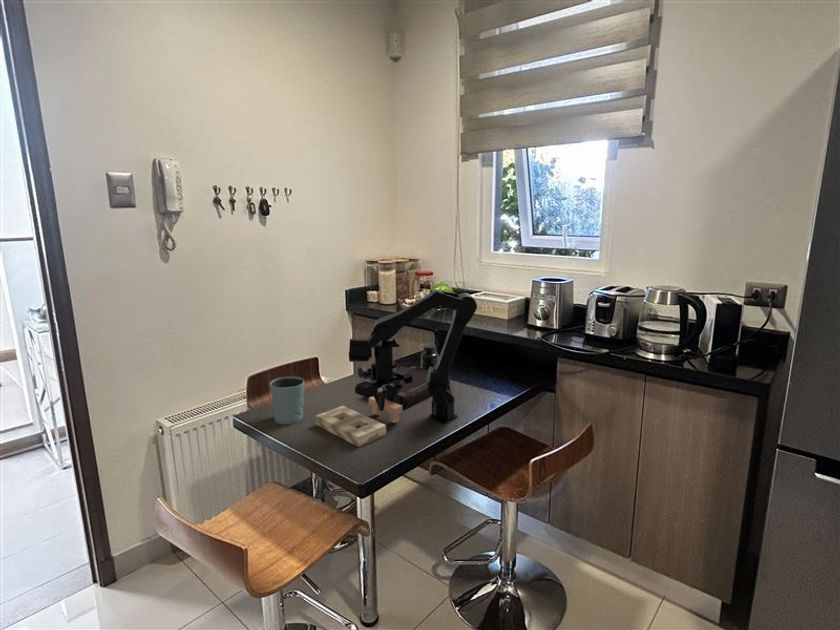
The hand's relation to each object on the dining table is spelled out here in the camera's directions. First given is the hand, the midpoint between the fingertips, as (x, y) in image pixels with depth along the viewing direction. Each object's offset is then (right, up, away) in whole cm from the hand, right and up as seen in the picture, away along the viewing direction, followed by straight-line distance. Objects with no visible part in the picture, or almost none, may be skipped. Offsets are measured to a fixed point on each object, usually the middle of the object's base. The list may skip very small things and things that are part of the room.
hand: (385, 409), depth 150 cm
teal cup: (-30, -3, +2) cm, 30 cm away
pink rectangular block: (0, -2, +1) cm, 2 cm away
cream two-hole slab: (-10, -5, -6) cm, 13 cm away
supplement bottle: (+14, +5, +37) cm, 40 cm away
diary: (+7, +1, +23) cm, 24 cm away
